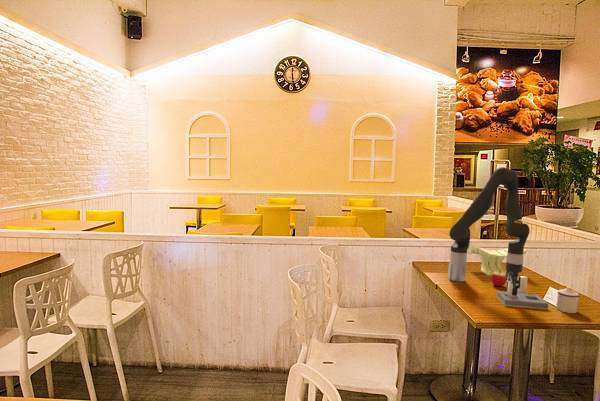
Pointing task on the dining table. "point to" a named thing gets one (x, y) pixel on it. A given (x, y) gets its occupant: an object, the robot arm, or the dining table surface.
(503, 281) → the apple
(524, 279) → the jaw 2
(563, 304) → the teacup with lid
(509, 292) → the jaw
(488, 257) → the slatted curved stool
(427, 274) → the dining table surface
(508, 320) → the dining table surface
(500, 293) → the housing
